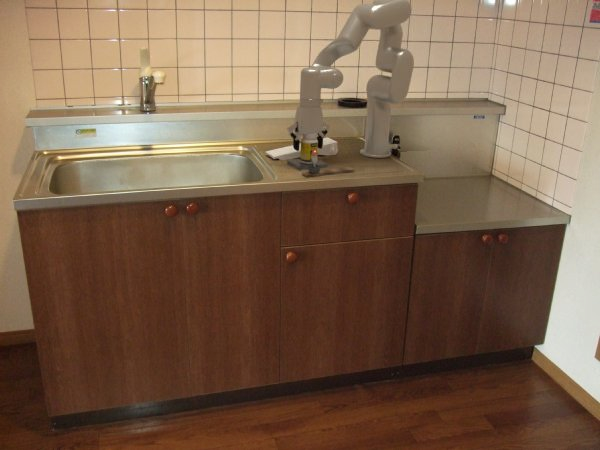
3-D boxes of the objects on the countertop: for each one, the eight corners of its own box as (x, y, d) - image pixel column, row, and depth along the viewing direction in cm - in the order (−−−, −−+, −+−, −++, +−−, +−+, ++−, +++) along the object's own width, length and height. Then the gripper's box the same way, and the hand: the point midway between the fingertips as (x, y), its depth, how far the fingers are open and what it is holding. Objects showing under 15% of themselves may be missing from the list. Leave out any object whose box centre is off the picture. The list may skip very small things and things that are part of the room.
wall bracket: (275, 175, 236) (338, 159, 247) (275, 159, 232) (339, 144, 242) (265, 162, 243) (326, 147, 254) (265, 146, 239) (327, 132, 249)
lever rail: (349, 169, 226) (349, 167, 225) (353, 171, 223) (354, 169, 223) (302, 175, 217) (302, 172, 216) (305, 177, 214) (306, 174, 214)
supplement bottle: (311, 165, 225) (312, 135, 221) (296, 162, 228) (297, 132, 224) (320, 161, 230) (321, 132, 226) (305, 158, 233) (306, 129, 229)
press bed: (314, 160, 236) (315, 157, 236) (327, 167, 228) (327, 164, 227) (287, 163, 231) (287, 160, 230) (299, 170, 223) (299, 167, 222)
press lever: (316, 170, 219) (317, 149, 216) (319, 172, 216) (320, 150, 214) (308, 171, 217) (309, 149, 214) (311, 172, 215) (312, 151, 212)
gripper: (325, 100, 228) (323, 144, 234) (284, 102, 220) (282, 148, 226) (335, 103, 221) (333, 149, 228) (293, 106, 214) (291, 153, 220)
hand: (308, 148), depth 227 cm, fingers open, 9 cm apart
